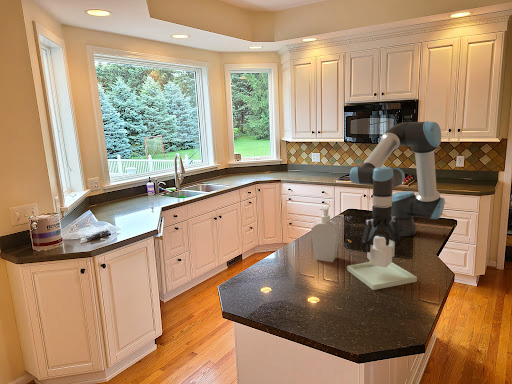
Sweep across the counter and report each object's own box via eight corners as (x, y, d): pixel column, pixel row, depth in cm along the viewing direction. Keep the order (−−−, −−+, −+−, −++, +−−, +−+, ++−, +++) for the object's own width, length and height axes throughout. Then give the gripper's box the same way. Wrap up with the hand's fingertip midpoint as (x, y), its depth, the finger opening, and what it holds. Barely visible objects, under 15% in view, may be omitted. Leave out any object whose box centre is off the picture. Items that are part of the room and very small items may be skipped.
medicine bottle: (375, 258, 156) (376, 232, 154) (392, 262, 152) (393, 235, 149) (368, 264, 151) (369, 236, 148) (385, 268, 146) (386, 239, 144)
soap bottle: (341, 255, 176) (341, 204, 170) (336, 263, 167) (336, 209, 161) (316, 252, 181) (316, 202, 176) (310, 260, 172) (310, 207, 167)
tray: (386, 263, 164) (386, 259, 164) (416, 281, 145) (416, 276, 145) (347, 270, 159) (347, 265, 159) (373, 289, 140) (373, 285, 140)
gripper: (399, 200, 153) (397, 250, 157) (352, 206, 147) (352, 257, 151) (411, 204, 145) (409, 256, 150) (362, 210, 140) (362, 264, 144)
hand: (380, 257), depth 151 cm, fingers closed on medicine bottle, 10 cm apart
